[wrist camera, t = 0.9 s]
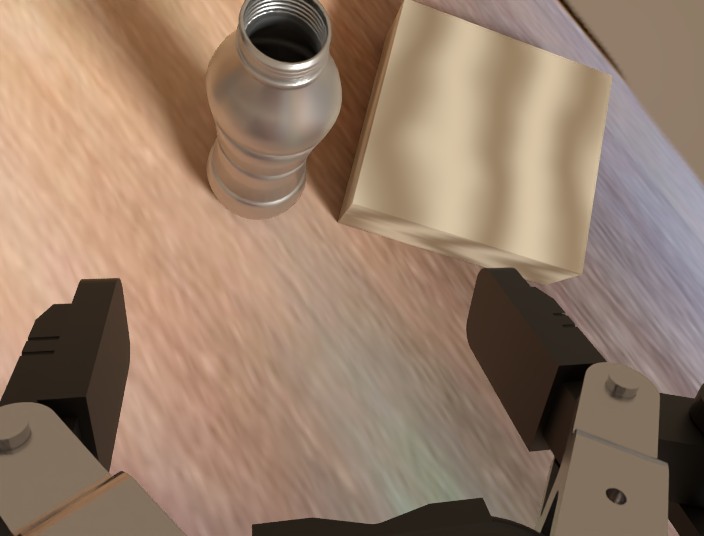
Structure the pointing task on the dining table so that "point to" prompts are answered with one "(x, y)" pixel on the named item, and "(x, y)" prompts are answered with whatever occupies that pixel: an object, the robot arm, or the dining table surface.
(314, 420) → the dining table surface
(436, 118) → the oak pedestal
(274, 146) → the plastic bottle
